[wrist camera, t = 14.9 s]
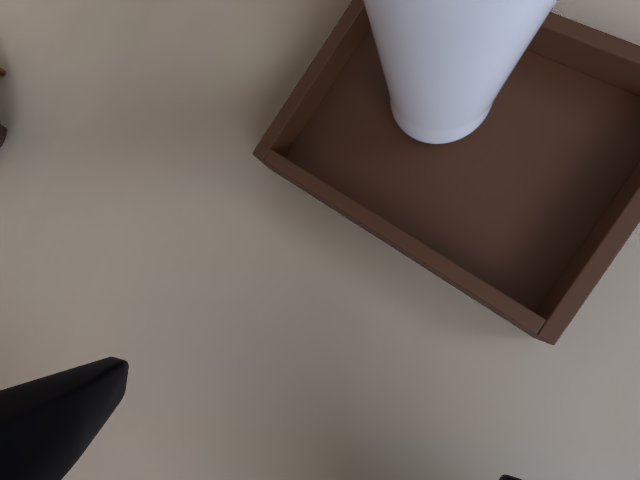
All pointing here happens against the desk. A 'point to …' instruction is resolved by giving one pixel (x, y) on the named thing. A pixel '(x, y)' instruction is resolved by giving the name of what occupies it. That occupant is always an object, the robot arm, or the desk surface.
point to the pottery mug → (0, 129)
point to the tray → (481, 168)
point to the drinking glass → (450, 58)
